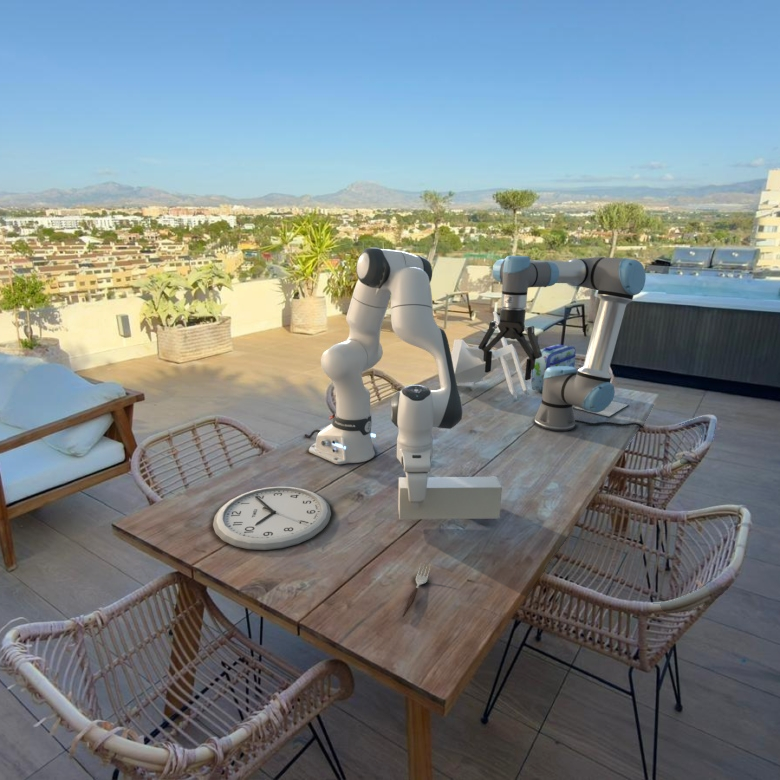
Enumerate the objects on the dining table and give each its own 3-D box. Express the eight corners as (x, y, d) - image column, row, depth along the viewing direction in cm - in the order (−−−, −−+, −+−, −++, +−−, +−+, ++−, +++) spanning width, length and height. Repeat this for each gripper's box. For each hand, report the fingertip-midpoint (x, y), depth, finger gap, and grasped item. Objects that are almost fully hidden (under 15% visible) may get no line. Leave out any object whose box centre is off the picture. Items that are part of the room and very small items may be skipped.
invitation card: (608, 416, 214) (573, 407, 224) (608, 416, 214) (573, 408, 224) (628, 404, 229) (594, 396, 238) (628, 405, 229) (594, 397, 238)
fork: (396, 617, 102) (396, 608, 101) (420, 569, 116) (420, 561, 116) (409, 620, 101) (409, 612, 101) (431, 572, 116) (431, 564, 115)
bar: (494, 506, 138) (496, 476, 136) (499, 518, 133) (502, 487, 130) (398, 507, 137) (398, 477, 135) (399, 519, 132) (400, 488, 129)
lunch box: (547, 397, 237) (552, 352, 231) (526, 391, 245) (531, 348, 238) (574, 386, 255) (580, 344, 249) (554, 381, 262) (559, 340, 256)
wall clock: (329, 541, 123) (198, 546, 121) (329, 547, 124) (199, 552, 121) (332, 482, 152) (226, 484, 149) (332, 487, 152) (226, 489, 150)
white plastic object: (461, 429, 252) (437, 405, 227) (444, 352, 274) (420, 323, 250) (535, 404, 240) (518, 377, 215) (510, 326, 262) (492, 293, 237)
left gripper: (399, 435, 139) (398, 481, 143) (404, 468, 120) (403, 521, 124) (423, 435, 140) (421, 481, 144) (431, 468, 120) (429, 521, 124)
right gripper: (470, 305, 163) (466, 371, 169) (548, 314, 149) (540, 385, 155) (481, 302, 169) (477, 366, 175) (557, 311, 155) (550, 379, 161)
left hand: (413, 500), depth 134 cm, fingers closed on bar, 6 cm apart
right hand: (507, 375), depth 165 cm, fingers open, 13 cm apart
